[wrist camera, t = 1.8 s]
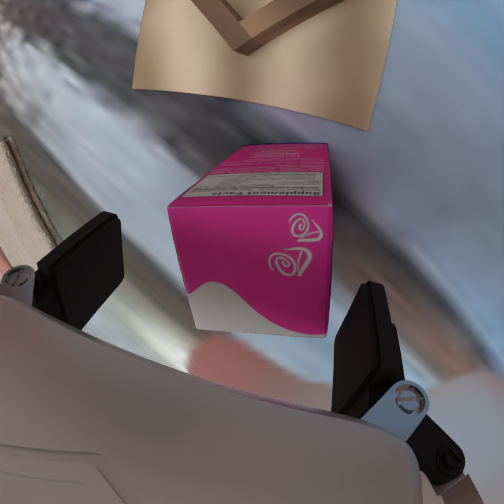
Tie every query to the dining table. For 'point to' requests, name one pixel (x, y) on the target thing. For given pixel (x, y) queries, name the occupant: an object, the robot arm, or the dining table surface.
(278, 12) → the collar holder
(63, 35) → the dining table surface
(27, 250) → the washcloth
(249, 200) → the supplement box
